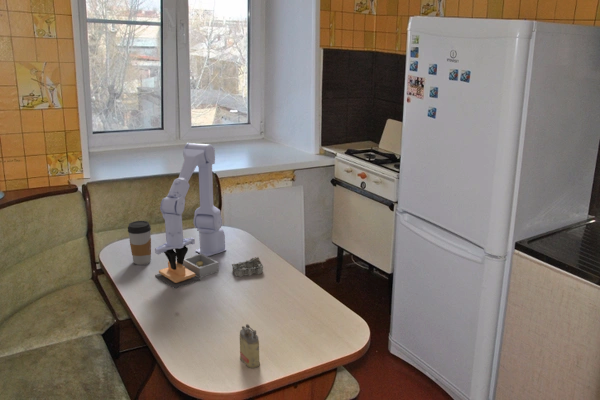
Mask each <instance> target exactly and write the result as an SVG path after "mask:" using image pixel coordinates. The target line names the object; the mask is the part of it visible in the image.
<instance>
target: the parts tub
mask: <svg viewBox="0 0 600 400" xmlns="http://www.w3.org/2000/svg"><path fill="white" fill-rule="evenodd" d="M183 266H185V268H187V269H188V270H190V271H192V272H194V273H195V275H196V276H197V277H198V278H200V279H201V278H203V277H206V276H209V275H212V274H215V273H218V272H219V271H220V270H219V269H220V268H219V266H220V265H219V262H218V261H217V260H215V259H213V258H211V257H210V256H208V257H207V256H205V255H203V254H200V253H198V254H195V255H191V256H189V257H185V258H184V261H183Z"/></svg>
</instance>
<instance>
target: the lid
mask: <svg viewBox="0 0 600 400" xmlns="http://www.w3.org/2000/svg"><path fill="white" fill-rule="evenodd" d="M167 265H168V267H164V268H161V269H158V274H161V275H163V276H165V277H166V278H168V279H170V280H171V281H173V282H175V283H178V282H181V281H184V280H187V279H190V278H191V277H194V276H196V275H195V273H194V272H192V271H190V270H188V269H187V268H185V266H183V265H181V264H179V263H178V262H177V261H176V269H175V270H173V269H172V268H171V265H170V263H169V260H168V261H167Z"/></svg>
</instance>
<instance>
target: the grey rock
mask: <svg viewBox="0 0 600 400" xmlns="http://www.w3.org/2000/svg"><path fill="white" fill-rule="evenodd" d="M231 266H232V272H233V273H234V277H240V278H241V277H243V276H245V275H246V276H252V275H253V274H256V275H261V273H263V272H264V270H263V268H264V266H263V263H262V261H261V260H260V258H259V256H257V257H252V258H250V259H249V260H245V261H240V262H236V263H231Z"/></svg>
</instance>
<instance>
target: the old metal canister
mask: <svg viewBox="0 0 600 400" xmlns="http://www.w3.org/2000/svg"><path fill="white" fill-rule="evenodd" d="M239 354H240V355H239V360H241V361H242V362H243V363H244V364H245V365H246V366H247V368H251V369H252V368H253V369H254V368H258V367H259V366H260V365H261V364H260V341H259V336H258V335H257V330H255V329H253V328H251V327H250V325H249V324H248V323H247V324H245V326H244V325H242V326H241V329H240V331H239Z"/></svg>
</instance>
